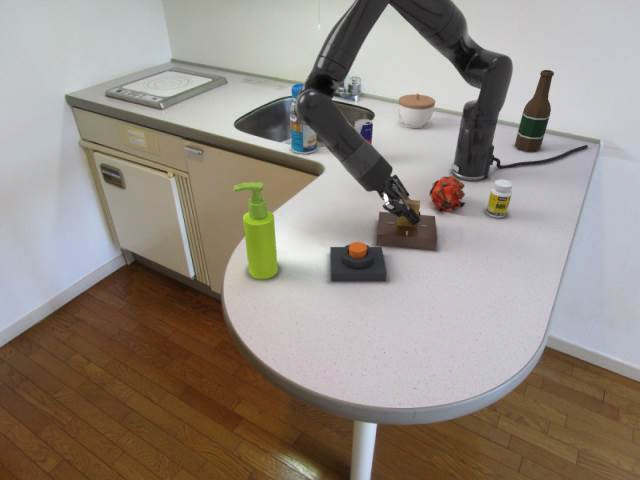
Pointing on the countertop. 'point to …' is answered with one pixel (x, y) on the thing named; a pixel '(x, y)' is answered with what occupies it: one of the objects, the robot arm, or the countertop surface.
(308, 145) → the beverage bottle
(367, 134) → the energy drink
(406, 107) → the lidded bowl
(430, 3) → the robot arm
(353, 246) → the bell button
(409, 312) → the countertop surface
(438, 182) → the dragon fruit
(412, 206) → the lock knob
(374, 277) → the box
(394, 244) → the panel
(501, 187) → the supplement bottle
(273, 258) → the soap dispenser
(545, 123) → the beer bottle
